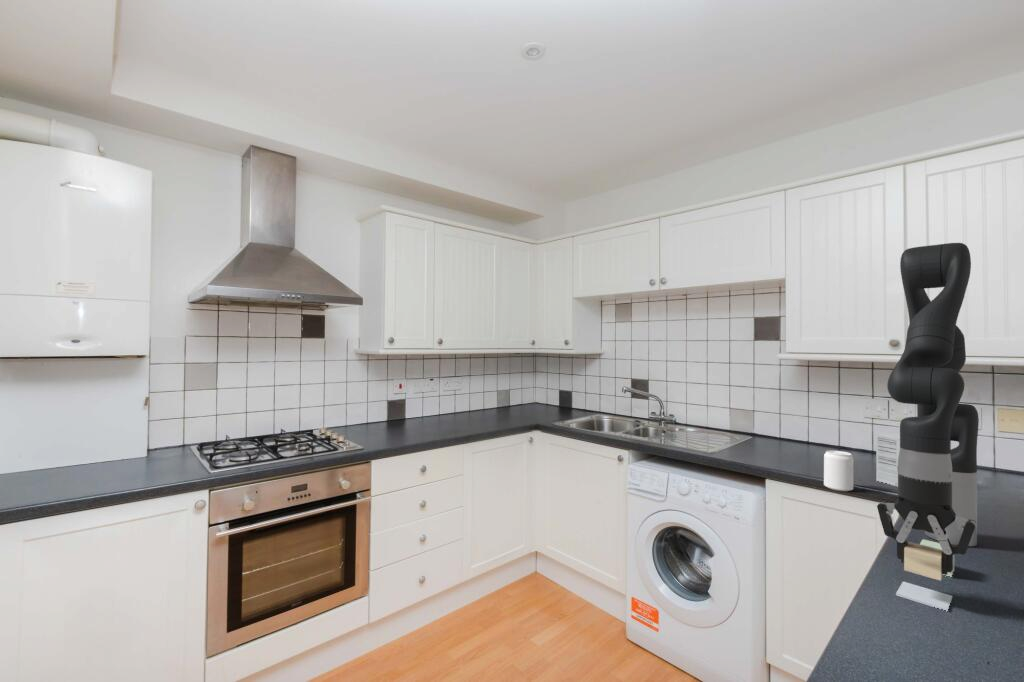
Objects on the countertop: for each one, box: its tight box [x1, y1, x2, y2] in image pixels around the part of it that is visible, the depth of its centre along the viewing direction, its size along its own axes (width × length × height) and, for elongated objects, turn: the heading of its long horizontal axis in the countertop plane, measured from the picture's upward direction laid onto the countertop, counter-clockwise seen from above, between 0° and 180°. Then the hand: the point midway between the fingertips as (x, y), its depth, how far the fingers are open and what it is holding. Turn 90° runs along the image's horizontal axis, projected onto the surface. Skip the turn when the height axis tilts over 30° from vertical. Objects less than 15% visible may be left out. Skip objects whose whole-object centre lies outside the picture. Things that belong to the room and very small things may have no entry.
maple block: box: [903, 541, 943, 582], centre depth 86 cm, size 5×5×4 cm
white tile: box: [895, 581, 953, 612], centre depth 85 cm, size 7×7×1 cm
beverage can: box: [823, 449, 854, 492], centre depth 156 cm, size 8×8×12 cm
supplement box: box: [875, 433, 900, 488], centre depth 164 cm, size 10×9×17 cm
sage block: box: [919, 538, 955, 578], centre depth 97 cm, size 5×5×5 cm
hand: (924, 567), depth 86 cm, fingers closed on maple block, 5 cm apart
